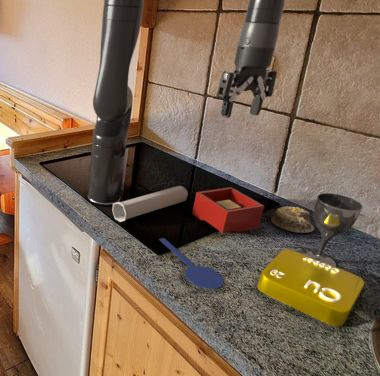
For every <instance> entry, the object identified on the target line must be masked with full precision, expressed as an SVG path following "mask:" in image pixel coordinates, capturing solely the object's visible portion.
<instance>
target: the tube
mask: <svg viewBox="0 0 380 376" xmlns="http://www.w3.org/2000/svg"><path fill="white" fill-rule="evenodd" d="M188 196H189V192H188V190H187V188H185V187H184V186H182V185H177V186H173V187H170V188H166V189H162V190H159V191H155V192H151V193H148V194H145V195H142V196H138V197H134V198H131V199H127V200H123V201H120V202H117V203H114V204H113V205H112V211H111V212H112V215H113V218H114V219H115V220H116V221H118V222H119V223H122V222H126V221H127V220H129V219H132V218H135V217H137V216H142V215H144V214H147V213H151V212H154V211H157V210H160V209H163V208H166V207H170V206H173V205H176V204H177V205H178V204H179V203H183V202H185V201H186V200H187V198H188Z"/></svg>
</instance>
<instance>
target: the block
mask: <svg viewBox="0 0 380 376" xmlns="http://www.w3.org/2000/svg"><path fill="white" fill-rule="evenodd" d="M216 203H217V204H219V205H220V206H222V207H223V208H225V209H226V210H233V209H239V208H241V207H240V206H239V205H237V204H235V203H234V202H232V201H230V200H224V201H218V202H216Z"/></svg>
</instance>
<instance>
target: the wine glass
mask: <svg viewBox="0 0 380 376" xmlns="http://www.w3.org/2000/svg"><path fill="white" fill-rule="evenodd" d="M313 207H314V208H313V222H314V224H315V226H316V228H317V229H318V231H319V232H320V233H319V234H320V236H321V241H320V246H319V250H318V252H317V251H312V250H304V251H301V252H300V253H301V254H304V255H306V256H309V257H311V258H314V259H317V260H319V261H322V262H324V263H327V264H329V265H332V266H334V267H337V264H336V263H337V262H335V260H333V258H331V257H330V256H328V255H326V254H324V251H325V248H326V246H327V244H328V243H329V242H330V240H331V239H332V238H334V237H337V236H340V235H342V234H345V233H346V232H348V231H350V229H352V227H353V226H354V225H355V224H356V222H357V220H358V218H359V216H360V215H361V212H362V209H363V205H362V203H360V202H359V201H357V200H356V199H353V198H351V197H350V196H349V197H348V196H345V195H342V194H339V193H331V192H326V193H320V194H318V196H317V197H316V200H315V204H314V206H313Z"/></svg>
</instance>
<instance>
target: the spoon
mask: <svg viewBox="0 0 380 376" xmlns="http://www.w3.org/2000/svg"><path fill="white" fill-rule="evenodd" d="M158 240H159V241H160V242H161V243H162V244H163V245H164V246H166V247H167V249H169V250H170V251H171V252H172V253H173V254H174V255H176V257H177V258H179V260H180V261H182V262H183V263H184V264H185V265H186V266H188V268H186V270H185V271H184V274H185V278H186V279H187V280H188V281H189V282H190V283H191V284H193V285H194V286H197V287H199V288H201V289H207V290H208V289H209V290H214V289H219V288H221V287H222V286H223V285H224V278H223V276H222V275H221V274H220V273H219V272H218V271H216V270H214V268H213V269H212V268H210V267H208V266H202V265H195V264H194V263H193V262H192V261H191V260H190V259H189V258H188V257H186V256H185V255H184V254H183V253H182V252H181V251H179V250H178V249H177V248H176V247H175V246H174V245H172V244H171V242H170V241H168V240H167V239H166V238H165V237H162V238H159V239H158Z"/></svg>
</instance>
